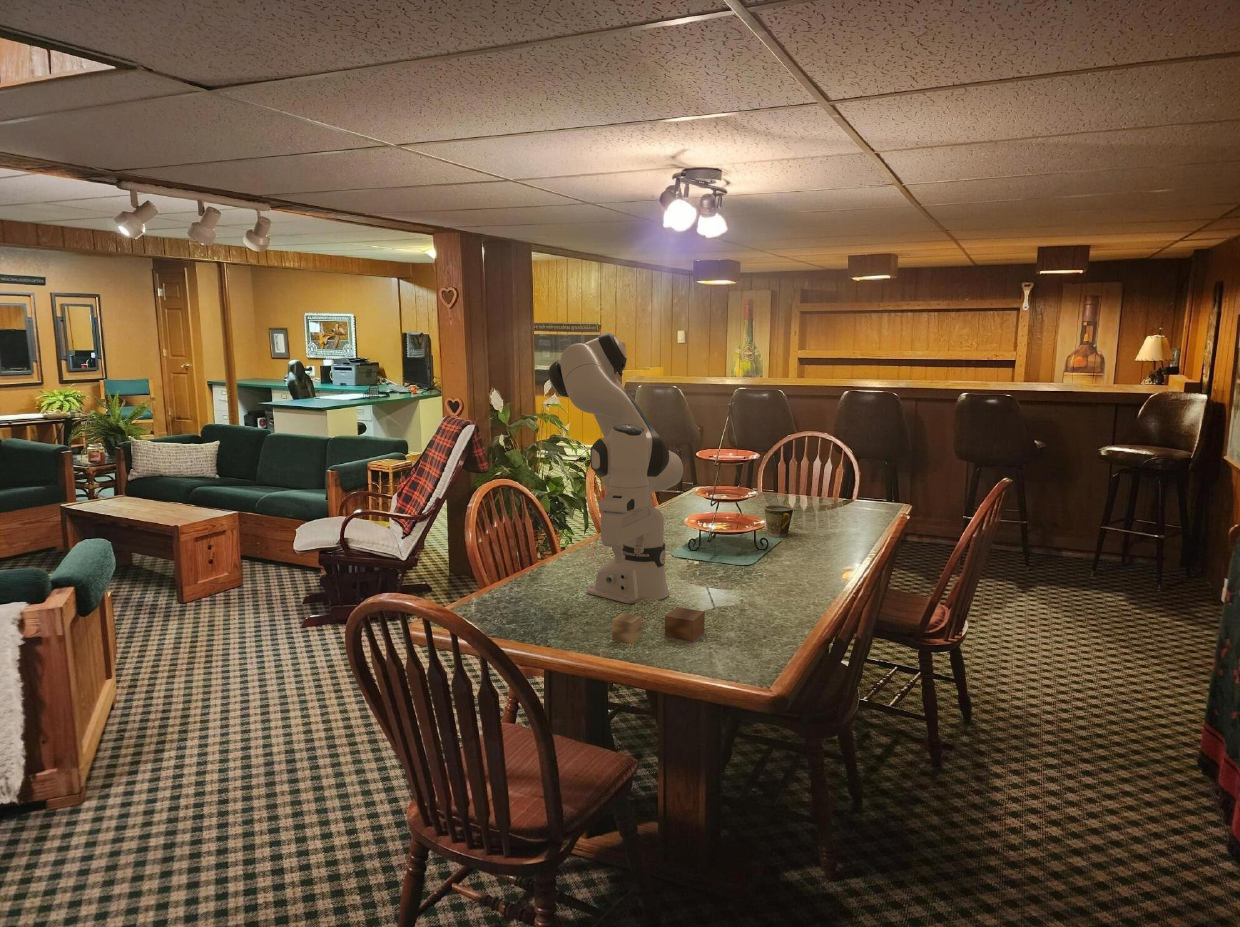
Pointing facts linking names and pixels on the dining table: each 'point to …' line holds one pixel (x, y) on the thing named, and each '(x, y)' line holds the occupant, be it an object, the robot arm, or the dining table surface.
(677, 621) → the walnut block
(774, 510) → the ceramic cup
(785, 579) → the dining table surface
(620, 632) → the maple block
